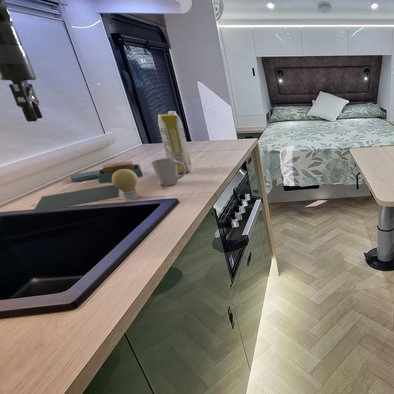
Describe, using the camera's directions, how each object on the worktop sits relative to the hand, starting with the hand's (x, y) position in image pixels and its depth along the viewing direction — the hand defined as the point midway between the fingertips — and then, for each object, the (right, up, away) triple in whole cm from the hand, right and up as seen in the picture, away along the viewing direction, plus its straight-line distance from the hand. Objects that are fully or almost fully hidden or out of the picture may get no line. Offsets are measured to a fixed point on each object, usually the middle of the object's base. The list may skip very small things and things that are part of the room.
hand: (35, 119), depth 90 cm
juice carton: (+28, -13, +31) cm, 43 cm away
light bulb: (+28, -25, +2) cm, 38 cm away
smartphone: (-3, -16, +25) cm, 30 cm away
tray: (+9, -17, +23) cm, 30 cm away
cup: (+33, -19, +17) cm, 41 cm away
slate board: (+11, -25, +3) cm, 27 cm away
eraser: (+9, -16, +23) cm, 29 cm away
